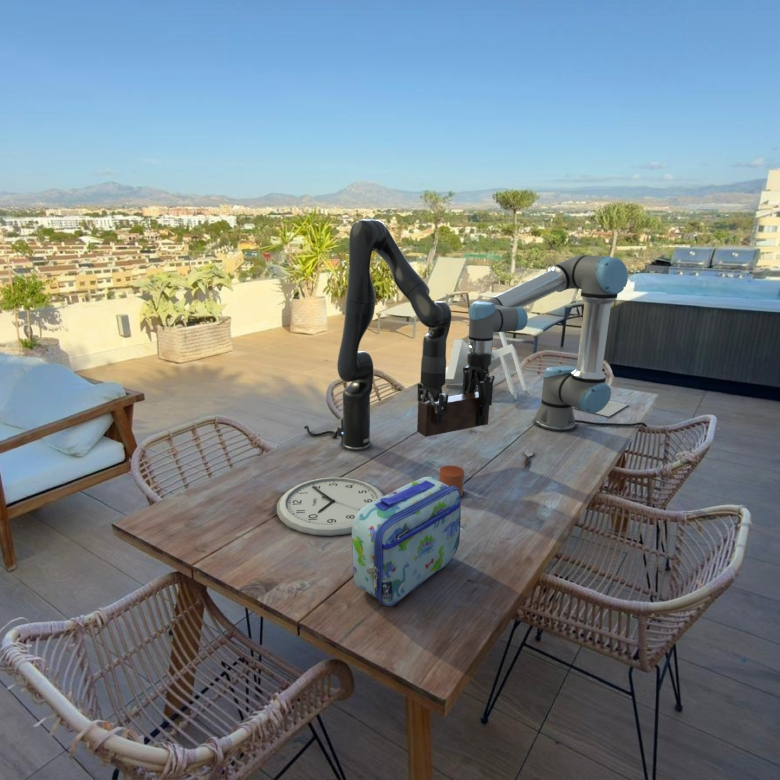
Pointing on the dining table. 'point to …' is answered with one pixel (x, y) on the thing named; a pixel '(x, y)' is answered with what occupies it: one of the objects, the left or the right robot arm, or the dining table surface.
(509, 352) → the white plastic object
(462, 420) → the walnut box
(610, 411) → the invitation card
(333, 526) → the wall clock
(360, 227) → the left robot arm
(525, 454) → the fork
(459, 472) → the orange clay cylinder
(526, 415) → the dining table surface
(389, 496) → the lunch box
